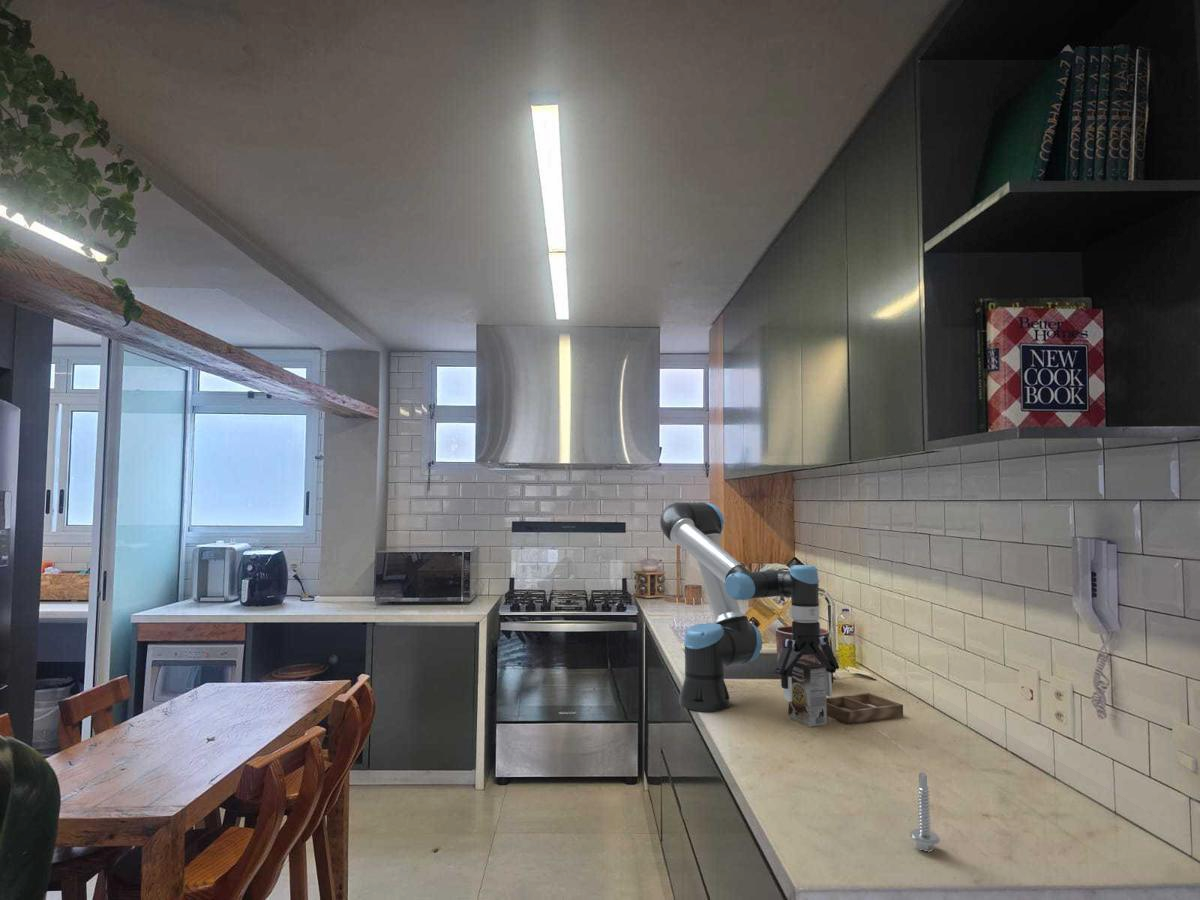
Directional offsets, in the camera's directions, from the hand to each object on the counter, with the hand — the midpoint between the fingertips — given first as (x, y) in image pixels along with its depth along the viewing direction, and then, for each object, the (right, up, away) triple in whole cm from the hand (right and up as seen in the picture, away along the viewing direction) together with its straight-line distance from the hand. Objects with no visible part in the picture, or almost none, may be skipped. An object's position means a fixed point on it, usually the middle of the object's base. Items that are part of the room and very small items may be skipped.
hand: (808, 698), depth 191 cm
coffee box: (0, -7, 0) cm, 7 cm away
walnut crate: (+16, -7, +6) cm, 19 cm away
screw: (-1, -1, -71) cm, 71 cm away
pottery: (+11, -10, +40) cm, 43 cm away
